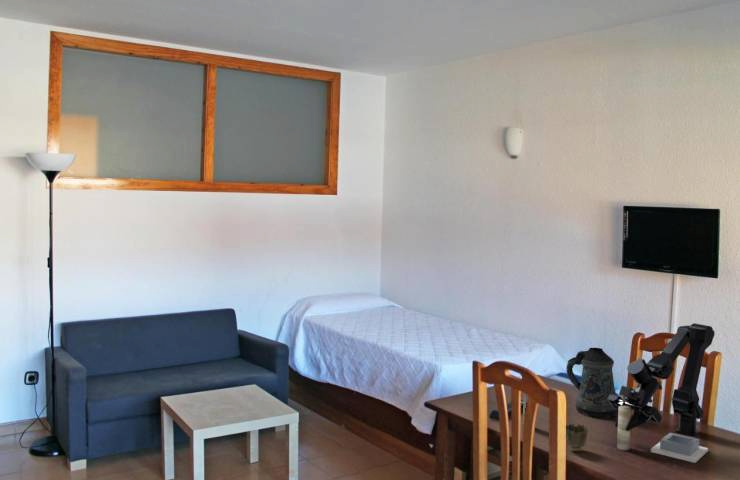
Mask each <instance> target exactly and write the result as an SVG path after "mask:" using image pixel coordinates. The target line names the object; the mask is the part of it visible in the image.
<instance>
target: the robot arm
mask: <svg viewBox="0 0 740 480" xmlns="http://www.w3.org/2000/svg"><path fill="white" fill-rule="evenodd" d="M715 334H716V333H715V330H714V328H713V327H712V325H711V326H710V325H705V324H701V323H691V324H690V325H682V326H681V325H680V326H678V327H677V330H676V333H675V334H674V335H673V336H672V338H671V339H670V340H669V342H668V344H667V345H666V346H665V347H664V348H663V350H662V351H661V353H659V354H656V355H654V356H653V357H652V358H651V359H649V360H648V362H646V360H645V359H644V358H641V357H639V358H638V359H637V360H634V361H632V362H631V363H629V364H628V365H627V367H626V370H627V372H628V374H629V375H630V376H631V377H632V379H633V380H634V382H635V383H637V386H636V387H634V386H633V387H632V388H631V387H628V386H624V385H621V387H620V391H619V395H617V394H616V395H614V394H611V395H609V397H608V398H607V400H608V401H609V402H610V404H611V405H612V406H613V407H614V408H615V409H617V416H615V422H614V423H615V424H614V426H615V427H616V428H618V408H619V406H628V407H631V411H633V415H632V416H631V420H630V422H629V423H628V425H627V427H626V431H629V430H630V431H631V430H633V429H635V428H636V427H638V426H640V425H642V424H645V423H650V421H651V422H652V423H654V424H658V425H659V424H660V423H661V421H662V418H663V417H662V414H661V413H660V411H659V410H658V409H657V408H656V407H654V406H652V405H649V403H650V404H652V403H653V399H652V398H653V396H654V394H655V393H656V392H657V390H660V391H662V390H663V387H662V382H661V381H659V380H658V379H660V380H668V379H669V378H670V376H671V375H672V372H673V371H674V369H675V368H674V363H675V361H676V360H677V358H678V357H679V356H680V354H681V353H682V352H683V350H684V349H685V347H686V346H687V345H689V349H688V355H687V358H686V364H685V368H684V372H683V377H682V381H681V386H679V387H678V388H677V389H676V388H675V389H674V390H673V394H672V397H671V405H672V409H673V413H674V414H675V413H676V414H678V415H679V420H678V422H679V423H678V428H677V429H675V432H676V433H681V434H684V435H688V436H693V437H694V436H696V435H697V434H698V433H699V432H700V429H698V428H697V425H698V424H697V422H698V420H701V419H702V418H703V416H704V413H705V411H704V410H703V408H702V407H701V405H700V403H699V402H700V396H699V393H698V391H697V388H698V383H699V378H700V374H701V370H702V364H703V361H704V357H705V356H704V355H705V352H706V350H708V348H709V347H710V346H711V345H712V343H713V340H714V337H715ZM621 396H623V397H624V399H623V398H622V397H621ZM649 419H650V421H649Z"/></svg>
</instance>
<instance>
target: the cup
mask: <svg viewBox="0 0 740 480" xmlns="http://www.w3.org/2000/svg"><path fill="white" fill-rule="evenodd" d="M565 426H566V435H565V441H566V443H567V444H568V445H569V448H570V450H571V451H572V452H575V453H579V452H581V451H582V450H583V449H582V447H584V446H585V445H586V442H587V440H588V433H589V429H588V428H587V426H586V427H585V425H584V424H581V425H580V424H578V425H577V426H576V425H575V424H574V423H573V424H571V423H569V424H566V425H565Z"/></svg>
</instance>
